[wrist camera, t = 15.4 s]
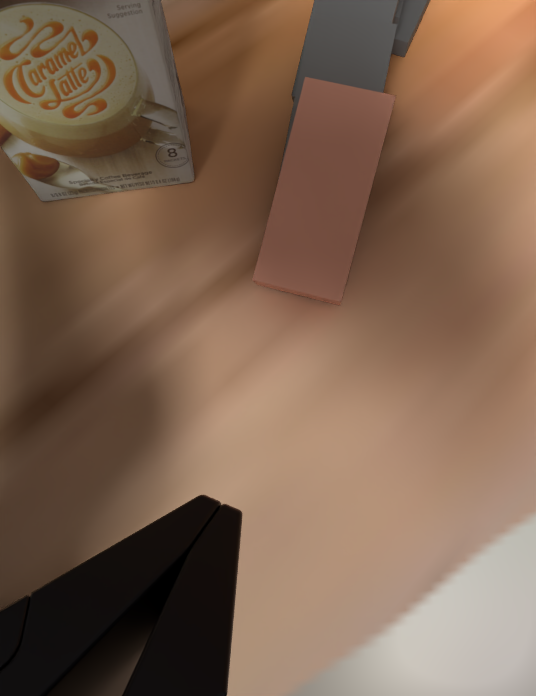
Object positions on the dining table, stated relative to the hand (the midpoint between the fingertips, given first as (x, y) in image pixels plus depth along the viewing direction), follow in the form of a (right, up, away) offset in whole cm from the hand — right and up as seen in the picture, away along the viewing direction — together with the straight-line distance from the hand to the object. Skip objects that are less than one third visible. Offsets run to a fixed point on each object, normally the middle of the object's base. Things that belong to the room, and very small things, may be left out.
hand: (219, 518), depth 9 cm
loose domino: (+2, +6, +15) cm, 16 cm away
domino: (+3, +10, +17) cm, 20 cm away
